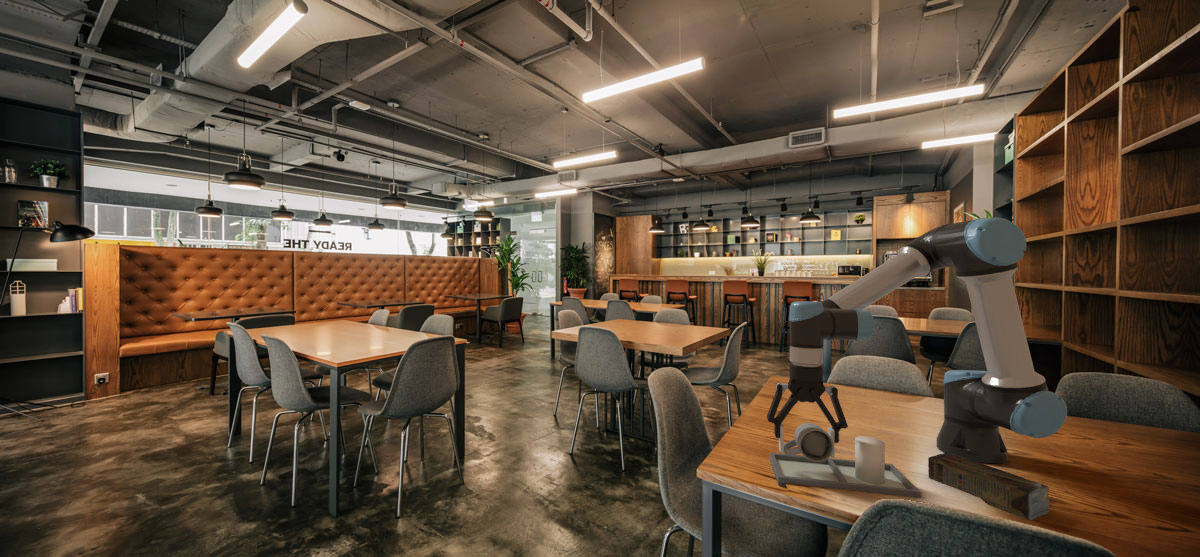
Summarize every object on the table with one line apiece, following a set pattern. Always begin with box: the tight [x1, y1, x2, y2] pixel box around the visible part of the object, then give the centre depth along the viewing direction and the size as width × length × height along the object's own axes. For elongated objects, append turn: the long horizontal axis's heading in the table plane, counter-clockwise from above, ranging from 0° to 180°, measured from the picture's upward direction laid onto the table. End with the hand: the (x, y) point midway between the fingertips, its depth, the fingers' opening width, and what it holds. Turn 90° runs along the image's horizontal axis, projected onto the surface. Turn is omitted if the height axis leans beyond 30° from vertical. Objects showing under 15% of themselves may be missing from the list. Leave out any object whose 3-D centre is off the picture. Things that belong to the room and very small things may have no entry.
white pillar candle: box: [854, 435, 886, 484], centre depth 103 cm, size 6×6×9 cm
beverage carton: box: [927, 452, 1050, 521], centre depth 96 cm, size 8×19×7 cm, turn 23°
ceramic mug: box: [783, 422, 835, 462], centre depth 106 cm, size 11×8×8 cm
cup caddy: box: [769, 452, 922, 499], centre depth 104 cm, size 29×15×2 cm, turn 76°
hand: (805, 453), depth 106 cm, fingers closed on ceramic mug, 11 cm apart
